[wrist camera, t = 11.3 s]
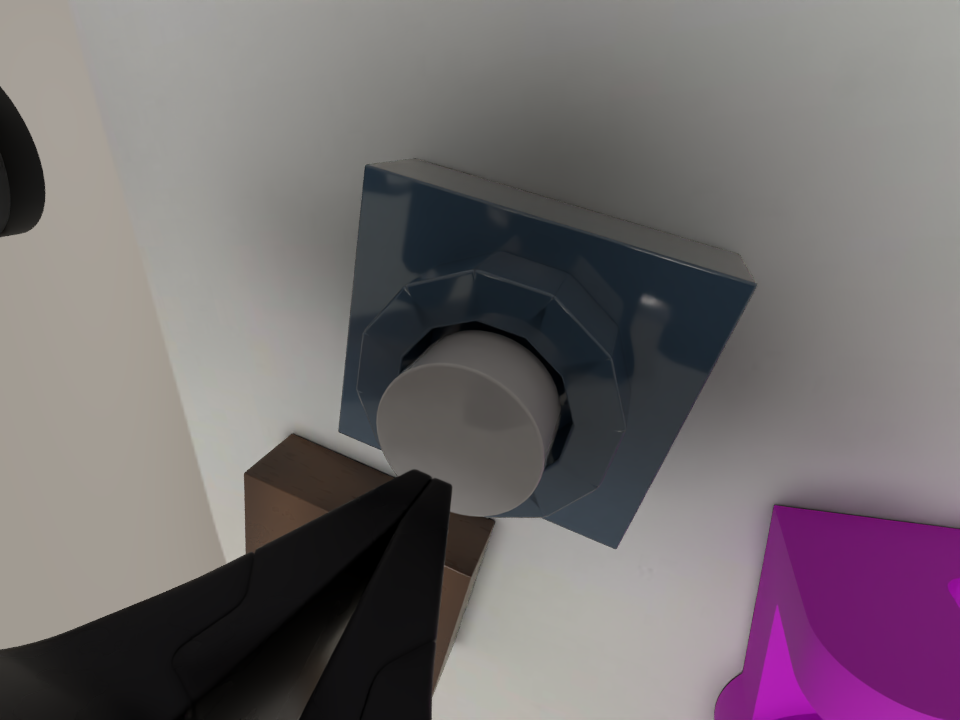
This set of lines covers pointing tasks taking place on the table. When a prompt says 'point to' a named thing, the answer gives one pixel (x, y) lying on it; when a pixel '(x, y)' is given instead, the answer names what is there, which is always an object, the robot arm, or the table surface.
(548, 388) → the push button
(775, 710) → the magenta ring bracket
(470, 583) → the panel
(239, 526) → the table surface
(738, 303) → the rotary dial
